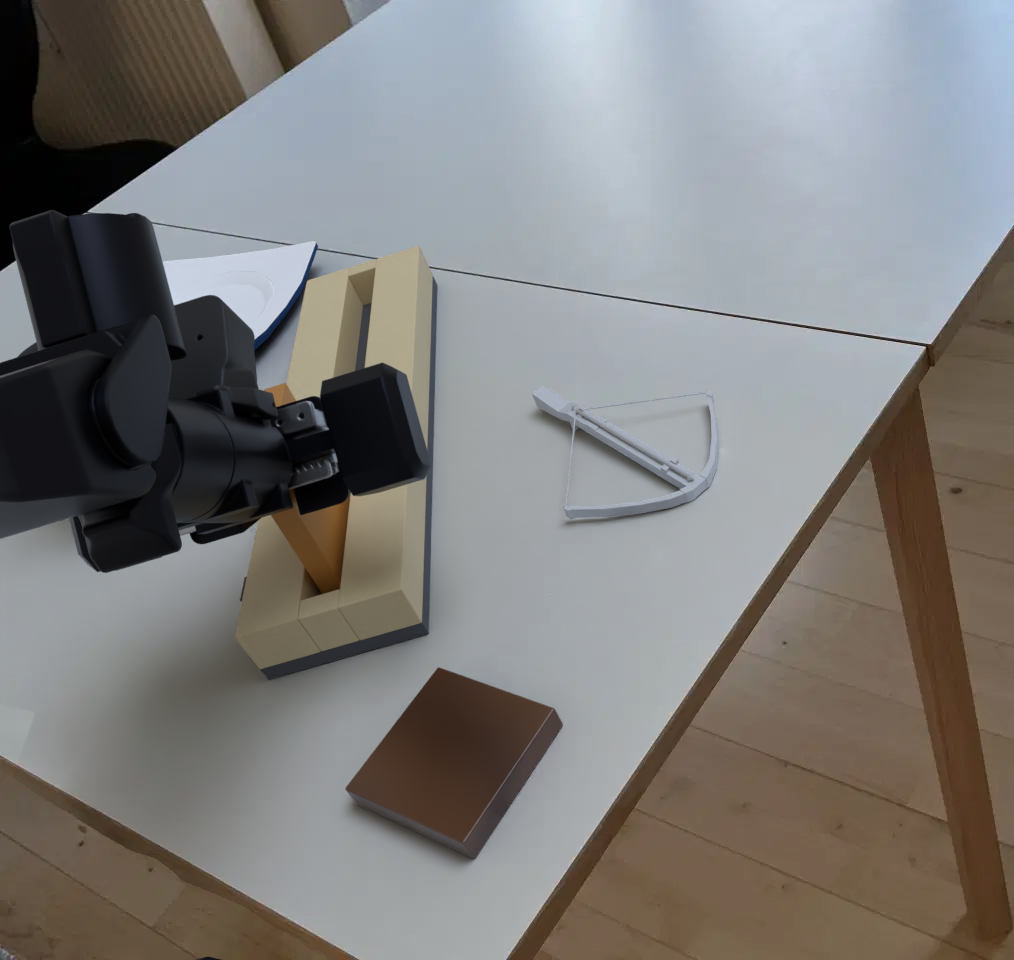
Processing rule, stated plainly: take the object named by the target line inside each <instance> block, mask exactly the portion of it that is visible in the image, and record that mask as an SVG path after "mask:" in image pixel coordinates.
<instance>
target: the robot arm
mask: <svg viewBox="0 0 1014 960" xmlns="http://www.w3.org/2000/svg"><path fill="white" fill-rule="evenodd" d="M8 227H9V232H10V236H11V240H12V249H13V253H14V258H15V261H16V266H17V269H18V273H19V278H20V281H21V287H22V289H23V294H24V298H25V301H26V306H27V310H28V314H29V318H30V322H31V325H32V330H33V333H34V339H35V343H36V342H37V346H38V350H39V351H36V352H32V353H29V354H26V355H23V356H20V357H18V356H16V357H14V358H11V359H7V360H4V361H1V362H0V540H2V539H5V538H8V537H12V536H16V535H18V534H22V533H26V532H28V531H32V530H36V529H38V528H42V527H45V526H48V525H52V524H55V523H58V522H61V521H64V520H69V523H70V528H71V532H72V535H73V539H74V543H75V546H76V551H77V555H78V556H79V557H80V558H81V559H82V560H83V561H84V563H85V564H86V565H87V566H89V567H90V568H91V569H93V570H94V571H95V572H97V573H103V574H107V573H111V572H117V571H121V570H124V569H127V568H131V567H134V566H137V565H141V564H144V563H148V562H150V561H154V560H157V559H160V558H163V557H164V556H168V555H171V554H175V553H178V552H180V550H181V549H182V548H183V542H182V538H181V537H183V536H187V535H189V537H190V539H191V540H192V542H193V543H195V544H197V545H208V544H211V543H213V542H216V541H220V540H224V539H227V538H230V537H233V536H237V535H241V534H243V533H245V532H246V531H248V530H249V529H250V528H251V527H252V526H253V525H255V524H256V523H258V520H259V519H261V518H262V517H265V516H269V515H272V514H275V513H279V512H282V511H285V510H289V509H292V508H293V504H292V500H291V496H290V492H289V490H291V489H293V490H294V494H295V498H296V501H297V505H298V509H299V513H300V515H304V514H308V513H311V512H314V511H318V510H321V509H324V508H328V507H331V506H334V505H338V504H341V503H343V502H345V501H346V500H347V499H348V498H349V496H350V493H352V495H353V496H365V495H370V494H375V493H380V492H383V491H386V490H390V489H393V488H396V487H400V486H403V485H407V484H410V483H413V482H417V481H420V480H423V479H425V477H426V475H427V474H428V472H429V470H430V468H431V462H430V458H429V455H428V451H427V447H426V444H425V440H424V436H423V433H422V429H421V426H420V422H419V418H418V415H417V411H416V407H415V404H414V400H413V396H412V393H411V389H410V385H409V382H408V378H407V375H406V374H405V373H403V372H401V371H399V370H397V369H396V368H394V367H392V366H389V365H387V364H385V363H379V364H376V365H373V366H369V367H366V368H363V369H360V370H356V371H353V372H350V373H347V374H343V375H340V376H337V377H334V378H330V379H327V380H324V381H322V385H321V392H320V397H317V396H311V397H307V398H304V399H301V400H298V401H294V402H291V403H288V404H285V405H281V406H278V407H276V404H275V400H274V396H273V393H270V392H266V391H264V389H259V385H258V375H257V374H258V373H257V364H256V356H255V355H256V354H255V350H254V343H255V337H254V332H253V331H252V329H251V328H250V327H249V326H248V325H247V324H246V323H245V322H244V321H243V320H242V319H241V318H240V317H239V316H238V315H237V314H236V313H235V312H234V311H233V310H232V309H231V308H230V307H229V306H227V305H226V304H225V303H224V302H223V301H222V300H221V299H220V298H219V297H217V296H215V295H206V296H202V297H199V298H196V299H193V300H190V301H186V302H183V303H180V304H177V305H174V304H173V300H172V296H171V292H170V288H169V284H168V281H167V277H166V273H165V269H164V265H163V262H162V261H163V258H162V255H161V251H160V246H159V243H158V239H157V235H156V231H155V227H154V225H153V222H152V220H150V219H149V218H148V217H147V216H145V215H143V214H140V213H139V212H130V213H127V214H124V213H114V212H113V213H112V212H111V213H110V212H99V213H98V212H97V213H96V212H94V213H92V212H91V213H81V214H73V215H65V214H63V213H61V212H59V211H56V210H54V209H50V210H47V211H45V212H41V213H38V214H34V215H32V216H28V217H25V218H23V219H19V220H16V221H13V222H11V223H10V224H9V226H8ZM195 960H222V959H221V958H216V957H212V956H204V957H199V958H196V959H195Z"/></svg>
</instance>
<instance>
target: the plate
mask: <svg viewBox="0 0 1014 960" xmlns="http://www.w3.org/2000/svg"><path fill="white" fill-rule="evenodd" d="M318 248H319V245H318V243H317V242H316V241H315V240H312V241H307V242H301V243H296V244H290V245H285V246H279V247H276V248H275V247H274V248H269V249H262V250H255V251H247V252H240V253H232V254H226V255H225V254H223V255H215V256H207V257H206V256H205V257H198V258H197V257H196V258H195V257H194V258H183V259H173V260H162V262H163V265H164V269H165V273H166V277H167V281H168V284H169V288H170V292H171V296H172V300H173V304H174V305H177V304H180V303H183V302H186V301H190V300H193V299H196V298H199V297H202V296H206V295H215V296H217V297H219V298H220V299H221V300H222V301H223V302H224V303H225V304H226V305H227V306H229V307H230V308H231V309H232V310H233V311H234V312H235V313H236V314H237V315H238V316H239V317H240V318H241V319H242V320H243V321H244V322H245V323H246V324H247V325H248V326H249V327H250V328H251V329H252V331H253V332H254V337H255V343H254V351H256V350H257V349H258V348H259V347H260V346H261V345H262V344H263V343H264V342H266V341H267V340H268V338H269V337H271V334H273V332H274V331H275V329H276V328H277V327H278V326H279V324H280V323H281V322H282V321H283V320H284V318H285V317H286V316H287V314H288V313H289V311H290V310H291V308H292V307H293V305H294V304H295V302H296V301H297V299H298V298H299V296H300V295H301V293H302V292H303V291H304V287H305V286H306V283H307V280H308V276H309V274H310V271H311V269H312V265H313V263H314V260H315V258H316V255H317V251H318Z"/></svg>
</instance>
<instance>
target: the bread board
mask: <svg viewBox="0 0 1014 960" xmlns="http://www.w3.org/2000/svg"><path fill="white" fill-rule="evenodd" d="M563 725H564V724H563V721H562V720H561V718H560V716H559V714H558V712H557V711H556V709H555V707H552V706H549V705H547V704H543V703H541V702H538V701H535V700H533V699H529V698H526V697H524V696H521V695H518V694H515V693H512V692H509V691H507V690H504V689H502V688H498V687H496V686H492V685H490V684H488V683H485V682H481V681H479V680H476V679H473V678H470V677H467V676H465V675H462V674H459V673H456V672H453V671H451V670H448V669H446V668H443V667H439V666H438V667H437V668H436V669H435V670H434V672H433V673H432V674H431V676H430V677H429V678H428V679H427V681H426V682H425V684H424V685H423V686H422V688H421V689H420V690H419V691H418V693H416V695H415V696H414V698H413V699H412V700H411V701H410V703H409V704H408V706H407V707H406V708H405V709H404V711H403V712H402V713H401V715H400V716H399V717H398V719H397V720H396V721H395V723H394V724H393V725H392V726H391V728H390V729H389V731H388V732H386V734H385V736H384V737H383V738H382V740H381V741H380V742H379V743H378V745H377V746H376V747H375V749H374V750H373V751H372V753H371V754H370V755H369V756H368V758H367V759H366V761H365V762H364V763H363V764H362V766H361V767H360V768H359V770H358V771H357V772H356V773H355V775H354V776H353V778H352V779H351V780H350V782H349V783H348V784H347V785H346V786H345V788H344V789H345V791H346V792H347V794H348V795H349V796H350V797H351V799H352V801H354V802H355V804H357V805H358V806H360V807H362V808H365V809H366V810H368V811H370V812H373V813H375V814H377V815H379V816H381V817H383V818H386V819H388V820H390V821H392V822H394V823H396V824H398V825H401V826H402V827H404V828H407V829H409V830H411V831H414V832H415V833H418V834H419V835H422V836H424V837H426V838H428V839H431V840H432V841H434V842H437V843H439V844H440V845H443V846H445V847H447V848H449V849H452V850H454V851H455V852H458V853H460V854H461V855H465V856H466V857H469V858H471V859H476V857H477V856H478V855H479V853H480V852H481V850H482V848H483V847H484V845H485V844H486V842H487V841H488V839H489V838H490V837H491V835H492V834H493V832H494V830H496V827H497V826H498V824H499V823H500V821H501V820H502V818H503V816H504V815H505V814H506V812H507V811H508V809H509V808H510V806H511V805H512V803H513V801H514V800H515V799H516V797H517V795H518V794H519V792H520V791H521V789H522V788H523V786H524V785H525V783H527V780H528V779H529V778H530V776H531V774H532V773H533V771H534V770H535V768H536V767H537V765H538V764H539V762H540V761H541V760H542V758H543V756H544V755H545V754H546V751H547V750H548V749H549V747H550V746H551V744H552V743H553V741H554V740H555V738H556V736H557V735H558V734H559V732H560V730H561V729H562V727H563Z"/></svg>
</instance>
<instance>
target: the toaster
mask: <svg viewBox="0 0 1014 960" xmlns="http://www.w3.org/2000/svg"><path fill="white" fill-rule="evenodd" d="M437 307H438V283H437V281H436V279H435V276H434V274H433V272H432V270H431V268H430V266H429V263H428V261H427V259H426V257H425V255H424V253H423V250H422V248H421V246H420V245H416V246H413V247H410V248H406V249H403V250H401V251H397V252H394V253H391V254H387V255H384V256H381V257H378V258H375V259H374V258H373V259H372V260H368V261H365V262H361V263H359V264H355V265H352V266H349V267H346V268H343V269H340V270H336V271H333V272H330V273H327V274H323V275H320V276H317V277H314V278H311V279H306V282H305V289H304V293H303V298H302V303H301V309H300V313H299V317H298V323H297V328H296V333H295V338H294V343H293V348H292V353H291V357H290V363H289V367H288V372H287V377H286V382H285V383H286V384H287V386H288V388H289V389H290V391H291V393H292V394H293V396H294V398H295V400H296V401H298V400H301V399H304V398H307V397H311V396H317V397H320V392H321V385H322V381H324V380H327V379H330V378H334V377H337V376H340V375H343V374H347V373H350V372H353V371H356V370H360V369H363V368H366V367H369V366H373V365H376V364H379V363H385V364H387V365H389V366H392V367H394V368H396V369H397V370H399V371H401V372H403V373H405V374H406V375H407V378H408V382H409V385H410V389H411V393H412V396H413V400H414V404H415V407H416V411H417V415H418V418H419V422H420V426H421V429H422V433H423V436H424V440H425V444H426V447H427V451H428V455H429V458H430V462H431V468H430V470H429V472H428V474H427V475H426V477H425V479H423V480H420V481H417V482H413V483H410V484H407V485H403V486H400V487H396V488H393V489H390V490H386V491H383V492H380V493H375V494H370V495H365V496H353V495H352V493H350V503H349V512H348V521H347V530H346V539H345V548H344V557H343V566H342V575H341V584H340V590H335V591H332V592H328V593H325V594H322V593H321V591H320V590H319V588H318V586H317V585H316V583H315V582H314V580H313V579H312V577H311V576H310V574H309V573H308V571H307V570H306V568H305V567H304V565H303V564H302V562H301V560H300V559H299V557H298V556H297V554H296V553H295V551H294V550H293V548H292V547H291V545H290V544H289V542H288V541H287V539H286V538H285V536H284V535H283V533H282V531H281V530H280V528H279V527H278V525H277V524H276V522H275V521H274V519H273V518H272V516H271V515H269V516H265V517H262V518H261V519H259V520H258V521H257V525H256V529H255V535H254V539H253V545H252V549H251V555H250V558H249V564H248V569H247V574H246V576H244V577H243V583H242V588H241V591H240V592H241V593H240V597H239V601H240V603H241V605H240V608H239V613H238V618H237V622H236V628H235V633H234V639H235V640H236V642H238V644H239V645H240V646H241V648H242V649H243V650H244V652H246V654H247V656H249V658H250V659H251V660H252V661H253V662H254V664H255V665H256V666H257V667H258V669H259V670H260V671H261V672H262V674H263V675H264V677H266V679H267V680H271V679H272V680H273V679H275V678H279V677H282V676H286V675H289V674H292V673H296V672H300V671H303V670H306V669H310V668H314V667H318V666H322V665H324V664H328V663H332V662H335V661H338V660H342V659H346V658H350V657H352V656H355V655H359V654H363V653H366V652H371V651H374V650H376V649H380V648H383V647H387V646H390V645H394V644H398V643H402V642H405V641H408V640H411V639H415V638H418V637H421V636H426V635H429V633H430V632H429V631H430V597H431V596H430V593H431V591H430V590H431V555H432V554H431V551H432V549H431V548H432V516H433V515H432V511H433V510H432V509H433V477H434V476H433V473H434V472H433V470H434V469H433V468H434V431H435V394H436V393H435V391H436V389H435V388H436V351H437V350H436V349H437V311H438V309H437Z"/></svg>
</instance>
